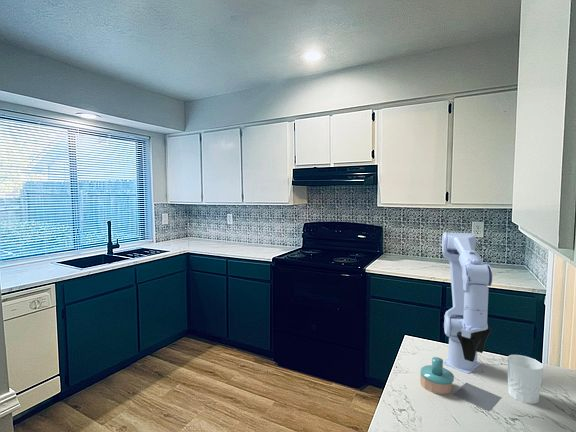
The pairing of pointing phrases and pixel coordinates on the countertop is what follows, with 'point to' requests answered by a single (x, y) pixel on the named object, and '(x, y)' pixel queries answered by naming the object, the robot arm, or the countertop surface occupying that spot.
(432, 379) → the lid
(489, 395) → the mat
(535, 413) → the countertop surface
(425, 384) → the bowl
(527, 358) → the white cup
